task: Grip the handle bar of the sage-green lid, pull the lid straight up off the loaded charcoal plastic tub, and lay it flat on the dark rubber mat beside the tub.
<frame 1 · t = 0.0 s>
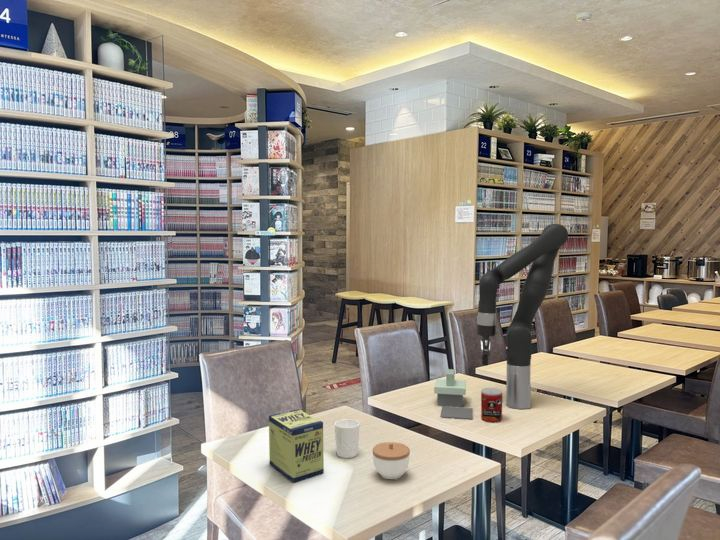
hand: (484, 362, 217), 17 cm above the table, tool pointing down, fingers open, 8 cm apart
white cup: (347, 454, 170), on the table
canned food: (491, 419, 200), on the table
protein box: (296, 469, 159), on the table
lid: (450, 389, 220), point 5 cm above the table, touching tub
lidded jar: (391, 475, 155), on the table
mat: (456, 413, 207), on the table
tub: (450, 402, 220), on the table
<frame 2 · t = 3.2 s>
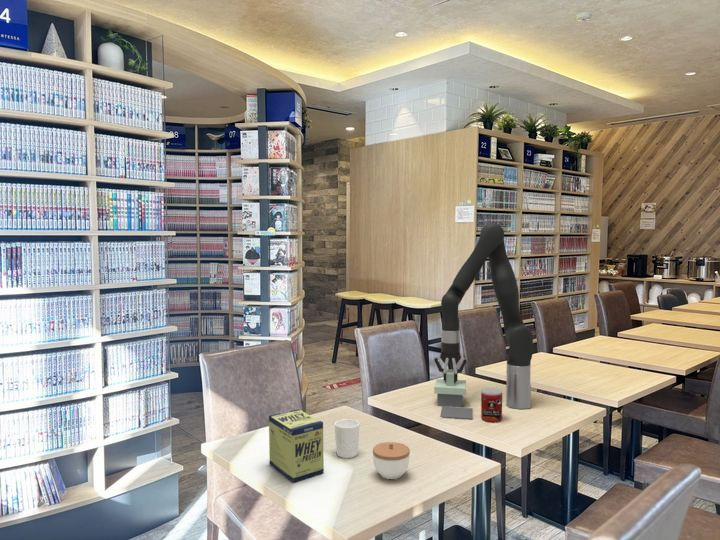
hand: (450, 381, 220), 9 cm above the table, tool pointing down, fingers closed on lid, 3 cm apart
lid: (450, 389, 220), point 5 cm above the table, touching gripper, tub
everything else where it was.
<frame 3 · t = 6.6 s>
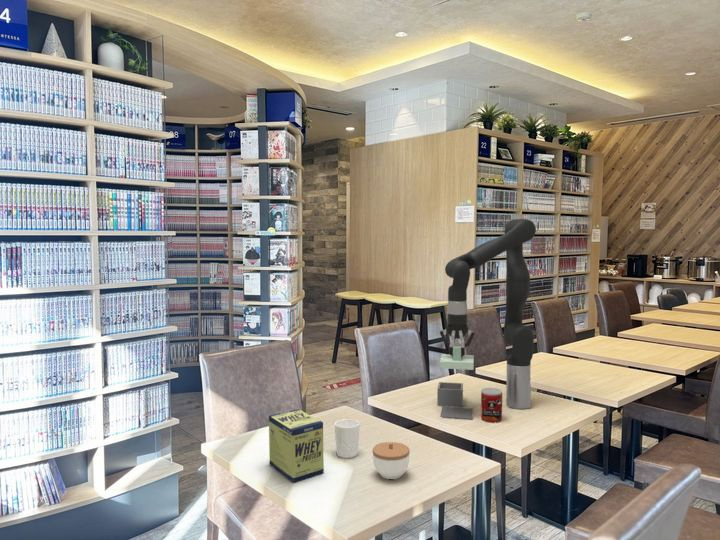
hand: (457, 356, 205), 22 cm above the table, tool pointing down, fingers closed on lid, 3 cm apart
lid: (457, 365, 206), point 19 cm above the table, touching gripper
everything else where it was.
when the fingers open (5 cm above the table, at t = 10.4 s): lid drops 1 cm, resting on mat.
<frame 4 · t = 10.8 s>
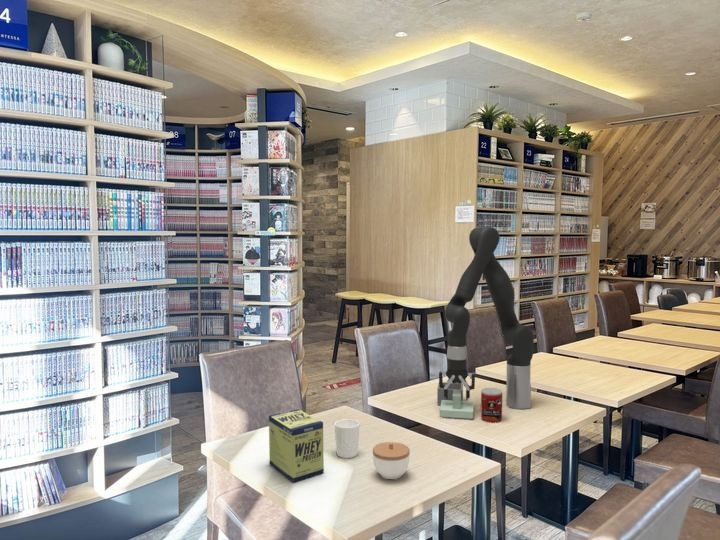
hand: (456, 398, 207), 6 cm above the table, tool pointing down, fingers open, 7 cm apart
lid: (456, 412, 207), resting on mat
everything else where it was.
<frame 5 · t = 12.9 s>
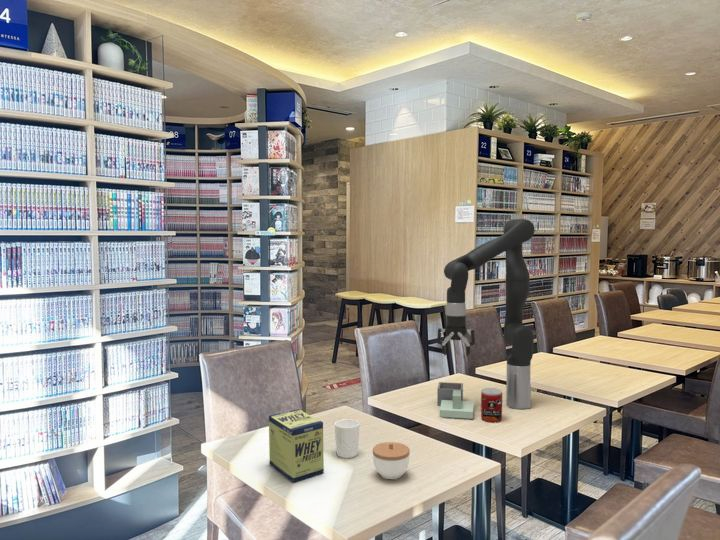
hand: (455, 355, 206), 23 cm above the table, tool pointing down, fingers open, 8 cm apart
nothing on the table moved.
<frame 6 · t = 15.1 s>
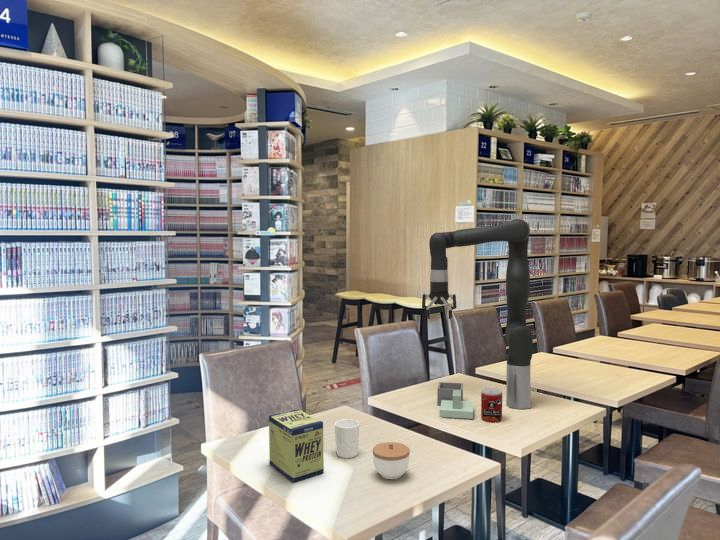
hand: (439, 318, 224), 34 cm above the table, tool pointing down, fingers open, 8 cm apart
nothing on the table moved.
at the end: lid inside the target area on the mat (0.0 cm from its centre), point 0.5 cm above the mat's base; lid tilted 0°; lid touching mat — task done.
